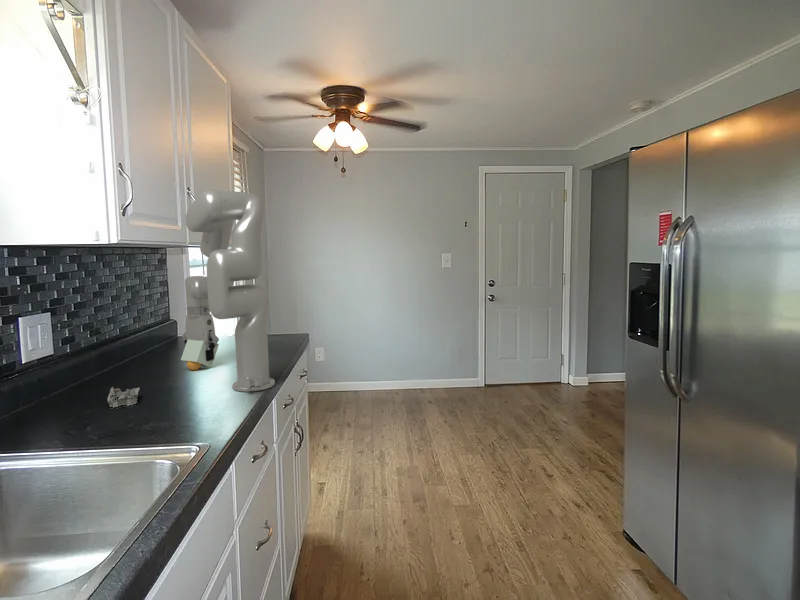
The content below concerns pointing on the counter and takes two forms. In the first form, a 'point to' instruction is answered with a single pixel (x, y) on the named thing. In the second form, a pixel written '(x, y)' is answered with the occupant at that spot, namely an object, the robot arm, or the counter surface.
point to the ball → (193, 365)
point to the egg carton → (122, 397)
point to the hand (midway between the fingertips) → (201, 358)
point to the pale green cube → (197, 352)
